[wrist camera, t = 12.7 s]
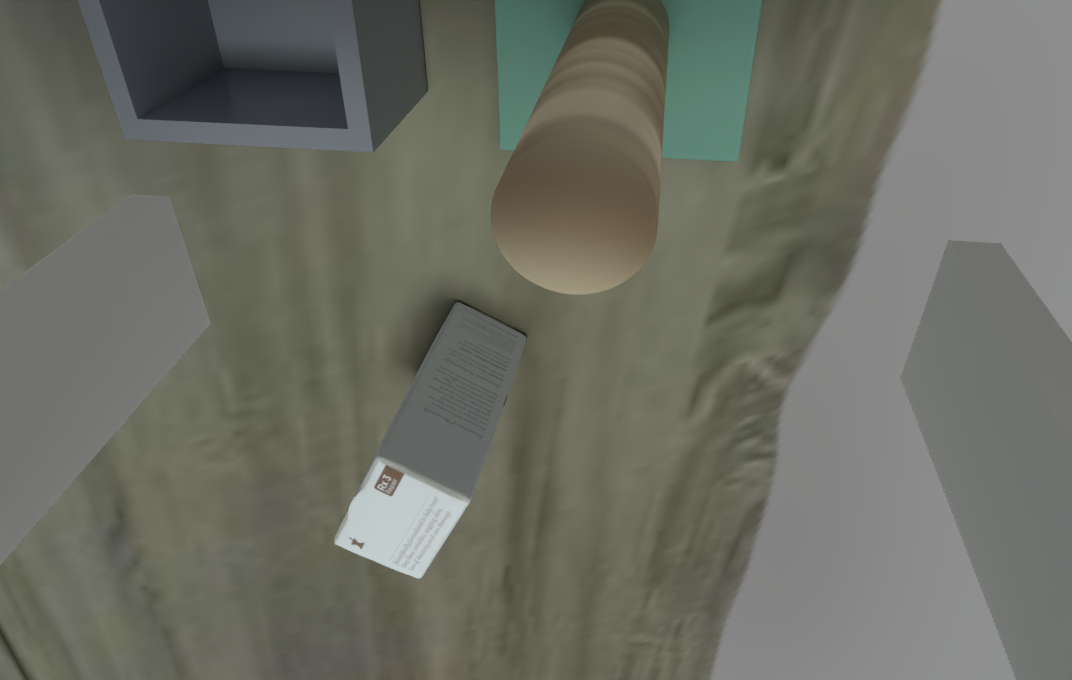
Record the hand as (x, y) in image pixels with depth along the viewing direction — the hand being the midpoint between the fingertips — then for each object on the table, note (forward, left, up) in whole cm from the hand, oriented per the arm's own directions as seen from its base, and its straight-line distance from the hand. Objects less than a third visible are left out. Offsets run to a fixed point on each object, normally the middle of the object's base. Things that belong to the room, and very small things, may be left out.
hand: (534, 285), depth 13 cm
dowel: (0, 0, -19) cm, 19 cm away
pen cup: (-2, -13, -20) cm, 24 cm away
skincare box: (+17, -7, -20) cm, 27 cm away
